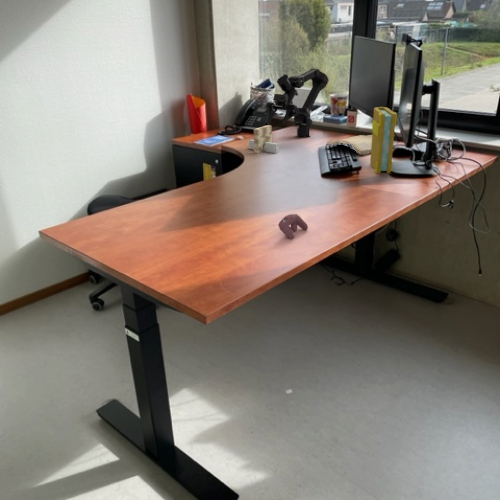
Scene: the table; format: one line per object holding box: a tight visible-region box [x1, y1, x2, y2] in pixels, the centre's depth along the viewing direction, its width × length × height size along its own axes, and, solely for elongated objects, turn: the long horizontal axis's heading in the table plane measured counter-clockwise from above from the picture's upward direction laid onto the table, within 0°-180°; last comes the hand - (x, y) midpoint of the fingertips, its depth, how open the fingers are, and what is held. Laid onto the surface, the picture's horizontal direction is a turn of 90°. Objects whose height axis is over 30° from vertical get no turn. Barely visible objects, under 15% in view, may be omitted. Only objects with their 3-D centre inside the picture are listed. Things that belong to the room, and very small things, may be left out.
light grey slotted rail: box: [248, 139, 279, 154], centre depth 249 cm, size 18×2×4 cm, turn 50°
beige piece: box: [325, 134, 372, 156], centre depth 244 cm, size 24×8×20 cm
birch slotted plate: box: [253, 124, 273, 154], centre depth 247 cm, size 12×2×12 cm, turn 140°
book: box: [369, 106, 398, 174], centre depth 208 cm, size 17×7×25 cm, turn 179°
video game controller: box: [278, 213, 309, 240], centre depth 153 cm, size 10×5×7 cm, turn 142°
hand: (275, 121), depth 252 cm, fingers open, 9 cm apart
